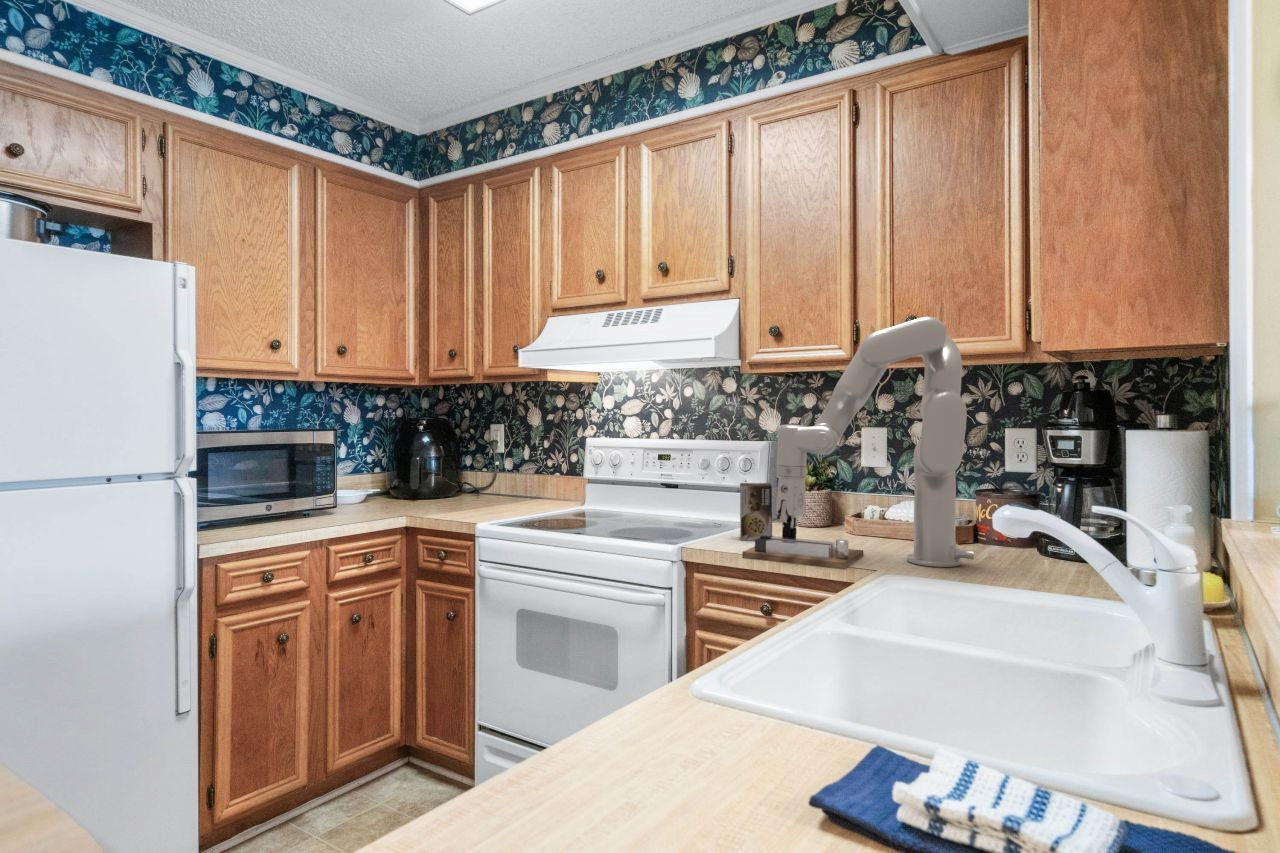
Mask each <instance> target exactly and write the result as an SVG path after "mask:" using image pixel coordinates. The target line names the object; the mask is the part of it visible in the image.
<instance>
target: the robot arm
mask: <svg viewBox="0 0 1280 853" xmlns="http://www.w3.org/2000/svg"><path fill="white" fill-rule="evenodd" d="M918 356H919V357H920V358H921V359H922V361H923V364H924V376H923V377H924V378H923V388H922V389H923V390H922V396H921V397H922V399H921V404H920V409H919V413H920V417H921V419H922V422H921V423H922V424H921V425H922V426H921V435H920V440H918V442H917V444H916V445H915V447H914V451H913V472H914V473H913V475H914V480H913V482H914V491H913V492H914V494H913V495H914V499H913V500H914V501H913V553H909V554H907V556H906V560H907V562H909V563H912V564H914V565H920V566H924V567H925V566H926V567H934V568H936V567H937V568H951V567H953V568H954V567H958V566H961V565H962V559H967V560H975V551H973V550H969V549H960V548H958V546H959V544H958V543H956V501H957V488H956V487H957V482H956V481H957V480H956V470H957V469H958V468H959V467H960V465H961V463H962V460H963V455H964V446H965V439H966V438H965V437H966V427H967V419H968V418H967V417H968V416H967V414H968V413H967V406H966V402H965V400H964V398H962V396H961V391H962V375H963V361H962V356H961V352H960V350H959V348H958V345H957V344H956V342H955V341H954V339H952V337H951V336H950V335H949V334H948V333H947V327H946V326H945V323H944V322H943V321H941V320H940V319H939V318H937V317H935V316H930V315H929V316H928V315H927V316H922V317H917V318H915V319H912V320H909V321H906V322H905V321H904V322H902V323H899V324H896V325H893V326H890V327H887V328H883V329H880V330H876V331H874V332H871V333H869V334H867V335H866V336H865V337H864V339H863V340H862V342H861V344H860V346H859V347H858V349H857V350H856V352H855V354H854V356H853V357H852V359H851V361H850V362H849V363H848V365H847V367H846V369H845V371H844V372H843V373H842V375H841V377H840V378H839V379H838V381H837V383H836V385H835V387H834V389H833V390H832V394H831V396H830V399H829V400H828V403H827V404H826V405H825V408H824V409H823V410H822V413H821V414H820V416H819V417H818V419H817V420H816V422H815V424H814V425H812V426H805V425H803V424H802V425H801V424H781V425H780V426H779V427H778V430H777V446H776V451H777V452H776V478H778V480H777V481H778V482H777V489H776V503H775V504H776V510H775V511H776V515H777V516H778V517H780V520H779V521H780V523H781V527H782V532H781V533H782V534H781V537H787V538H797V526H798V519H799V517H801V516H804V515H805V514H806V510H807V507H806V506H807V504H806V503H807V501H806V500H807V498H806V497H807V494H806V493H807V492H806V481H805V480H806V479H807V463H808V462H807V453H809V454H815V455H822V456H823V455H828V454H831V453H833V452H834V450H836V448H837V445H838V443H839V441H840V439H841V438H842V436H843V434H844V433H845V431H846V430H847V428H848V426H849V425H850V424H851V422H852V420H853V419H854V417H855V416H856V415H857V413H858V412H859V411H860V410H861V409H862V408H863V407H864V406H865V404H866V403H867V401H868V400H869V398H870V396H871V395H872V393H873V392H874V390H875V388H876V386H877V385H878V384H879V382H880V380H881V379H882V377H883V376H884V374H885V373H886V370H887V369H888V368H889V366H890V364H893V363H897V362H900V361H905V360H908V359H911V358H914V357H918ZM961 558H962V559H961Z"/></svg>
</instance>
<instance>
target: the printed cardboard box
mask: <svg viewBox="0 0 1280 853" xmlns="http://www.w3.org/2000/svg"><path fill="white" fill-rule="evenodd" d="M739 502H740V503H739V504H740V505H739V514H740V516H739V517H740V518H739V524H740V525H739V527H740V531H739V533H740V534H739V538H740V541H742V542H743V541H745V542H746V541H751V542H752V541H753V542H755V539H758V538H760V536H762V535H766V536H773V485H772V484H771V483H770V482H740V483H739Z"/></svg>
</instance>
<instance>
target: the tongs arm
mask: <svg viewBox="0 0 1280 853" xmlns="http://www.w3.org/2000/svg"><path fill="white" fill-rule="evenodd" d="M760 538H761V539H771V540H781V541H792V542H802V543H812V544H823V545H831V556H833V555H834V554H835V548H836V541H828V540H827V541H826V540H819V539H818V540H817V539H808V538H807V539H806V538H797V537H796V538H787V537H782V536H774V535H772V536H766V535H762V536H760Z"/></svg>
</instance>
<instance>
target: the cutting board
mask: <svg viewBox="0 0 1280 853" xmlns="http://www.w3.org/2000/svg"><path fill="white" fill-rule="evenodd" d="M741 553H742V554H741V555H742V557H741V558H743V559H751V560H758V561H759V560H761V561H768V562H769V561H770V562H778V563H787V564H794V565H795V564H796V565H804V566H805V565H806V566H811V567H812V566H814V567H822V568H831V569H841V570H845V569H847V568H848V567H850V566H851V565H852V563H853V562H854V563H855V561H856V560H857V561H858V560H860V559H861V558H863V557H864V550H863V549H854V548H848V559H845V560H842V559H836V547H835V554H834V555H833V556H831V558H830V559H822V558H812V557H803V556H794V555H784V554H775V553H765V552H756V551H755V546H752V547H750V548H748V549H746V550H744V551H742V552H741ZM862 556H863V557H862ZM860 557H861V558H860ZM859 558H860V559H859ZM857 561H856V562H857ZM854 563H853V564H854ZM850 564H851V565H850ZM849 565H850V566H849Z"/></svg>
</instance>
